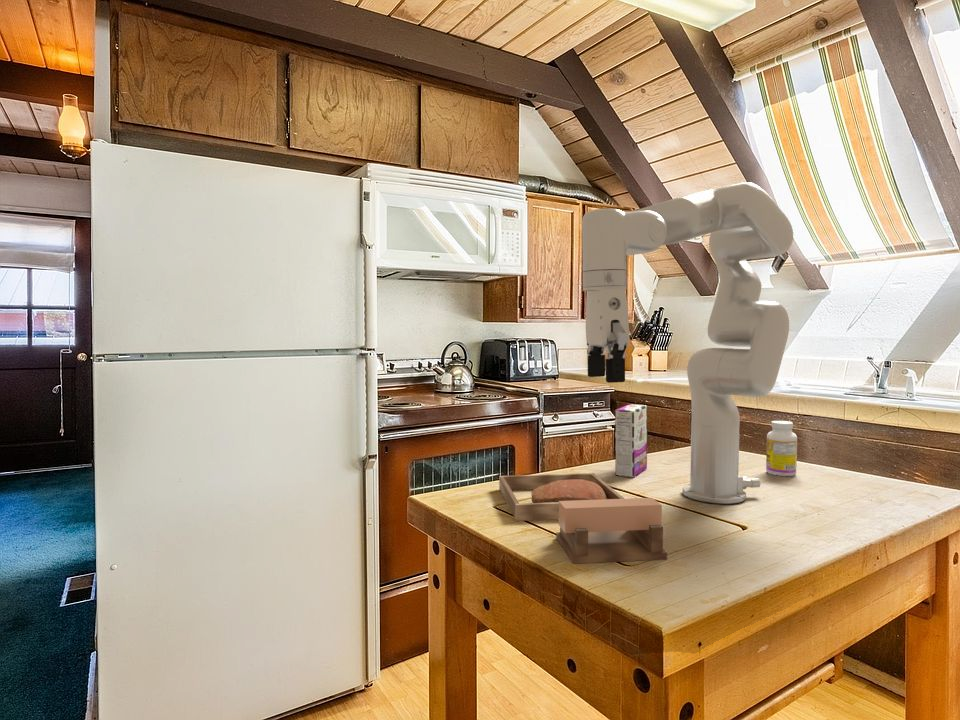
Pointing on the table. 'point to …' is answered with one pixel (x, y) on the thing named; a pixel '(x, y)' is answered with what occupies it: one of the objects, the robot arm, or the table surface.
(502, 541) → the table surface
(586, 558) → the rack
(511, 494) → the low wooden frame
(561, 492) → the ceramic shard
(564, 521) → the tan pink long block
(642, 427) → the candy bar box
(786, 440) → the supplement bottle
